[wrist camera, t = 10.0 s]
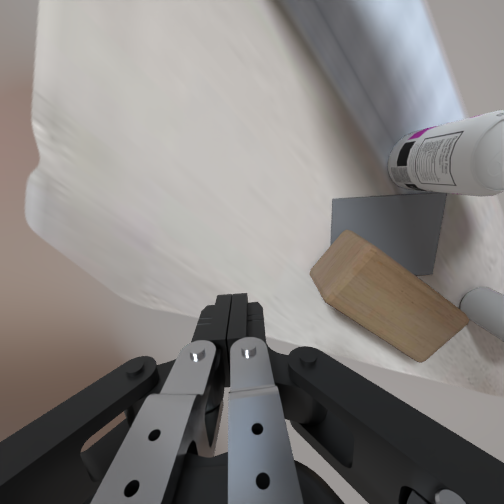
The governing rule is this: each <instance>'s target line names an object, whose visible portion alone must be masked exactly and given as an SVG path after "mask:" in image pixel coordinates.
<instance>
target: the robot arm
mask: <svg viewBox="0 0 504 504" xmlns="http://www.w3.org/2000/svg"><path fill="white" fill-rule="evenodd" d="M224 387H230V392H229V397H228V401H229V402H228V407H229V408H228V452H226V453H223V454H221V455H218V456H215V457H214V453H215V448H216V442H217V437H218V432H219V427H220V421H221V416H222V411H223V396H224ZM123 411H124V413H125V416H126V419H125V420H123V421H122V422H121V423H120V424H118V425H117V426H116V427H115V428H113V429H112V430H111V431H110V432H108V433H107V434H106V435H105V436H103V437H102V438H101V439H100V440H99V441H97V442H96V443H95V444H94V445H92V446H91V447H90V448H89V449H87V450H86V451H84V452H81V448H82V446H83V445H84V443H85V442H86V441H87V440H88V439H89V438H90V437H91V436H92V435H94V434H95V433H96V432H97V431H99V430H100V429H101V428H103V427H104V426H105V425H106V424H108V423H109V422H110V421H112V420H113V419H114V418H115V417H116V416H118V415H119V414H120V413H122V412H123ZM285 419H287V420H290V422H291V425H292V427H293V428H294V429H295V430H296V431H297V432H298V433H299V434H300V435H301V436H302V437H303V438H304V439H305V440H306V441H307V442H308V443H309V444H310V445H311V446H312V447H313V448H314V449H315V450H316V451H317V452H318V453H319V454H320V455H321V456H322V457H323V458H324V459H325V460H326V461H327V462H328V463H329V464H330V465H331V466H332V467H333V468H334V469H335V470H336V471H337V472H338V473H339V474H340V475H341V476H342V477H343V478H344V479H345V480H346V481H347V482H348V483H349V484H350V485H351V486H352V487H353V488H354V489H355V490H356V491H357V492H358V493H359V494H360V495H361V496H362V497H363V498H364V499H365V500H366V501H367V502H368V503H369V504H504V463H503V462H501V461H499V460H498V459H496V458H494V457H493V456H491V455H489V454H488V453H486V452H485V451H483V450H481V449H480V448H478V447H477V446H475V445H473V444H472V443H470V442H469V441H466V440H465V439H463V438H462V437H460V436H459V435H457V434H455V433H454V432H452V431H450V430H449V429H447V428H446V427H444V426H442V425H441V424H439V423H438V422H436V421H434V420H433V419H431V418H429V417H428V416H426V415H425V414H423V413H421V412H419V411H418V410H416V409H415V408H413V407H411V406H410V405H408V404H407V403H405V402H403V401H402V400H400V399H398V398H397V397H395V396H394V395H392V394H390V393H389V392H387V391H385V390H384V389H382V388H380V387H379V386H377V385H376V384H374V383H372V382H371V381H369V380H367V379H366V378H364V377H363V376H361V375H359V374H358V373H356V372H354V371H353V370H351V369H349V368H348V367H346V366H344V365H343V364H341V363H339V362H338V361H336V360H335V359H333V358H332V357H330V356H328V355H327V354H325V353H323V352H322V351H320V350H318V349H316V348H313V347H306V346H304V347H298V348H296V349H294V350H292V351H291V352H290V354H289V355H284V354H280V353H277V352H275V351H273V350H271V349H270V348H269V347H268V345H267V344H266V337H265V327H264V316H263V307H262V306H261V305H260V304H259V303H258V302H252V303H248V296H247V293H241V294H233V296H232V294H227V295H218V296H217V299H216V303H215V305H208V306H206V307H205V308H204V309H203V310H202V311H201V314H200V317H199V321H198V323H197V326H196V329H195V332H194V336H193V338H192V341H191V343H189V344H187V345H186V346H185V347H184V348H182V350H181V351H180V353H179V355H178V357H177V359H175V360H173V361H170V362H167V363H163V364H160V365H156V361H155V360H154V359H153V358H152V357H148V356H142V357H137V358H134V359H131V360H129V361H128V362H126V363H124V364H123V365H121V366H120V367H118V368H117V369H115V370H113V371H112V372H110V373H109V374H107V375H106V376H104V377H102V378H101V379H99V380H97V381H96V382H95V383H93V384H91V385H90V386H88V387H87V388H85V389H84V390H82V391H80V392H79V393H77V394H76V395H74V396H72V397H71V398H69V399H68V400H66V401H65V402H63V403H61V404H60V405H58V406H57V407H55V408H54V409H52V410H50V411H49V412H47V413H46V414H44V415H42V416H41V417H39V418H38V419H36V420H34V421H33V422H31V423H30V424H28V425H27V426H25V427H23V428H22V429H20V430H19V431H17V432H16V433H14V434H13V435H11V436H9V437H8V438H6V439H5V440H3V441H1V442H0V504H344V502H343V501H342V500H341V499H340V498H339V497H338V496H337V495H336V493H335V492H334V491H333V490H332V489H331V488H330V486H328V484H327V483H326V482H325V481H324V480H323V479H322V478H321V477H320V476H319V475H318V474H316V473H315V472H314V471H313V470H311V469H310V468H308V467H307V466H305V465H303V464H302V463H299V462H298V461H295V460H294V458H293V454H292V450H291V445H290V441H289V436H288V431H287V427H286V422H285ZM80 452H81V453H80Z"/></svg>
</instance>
